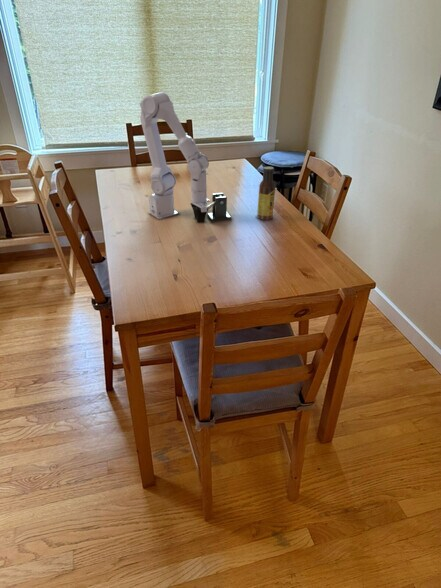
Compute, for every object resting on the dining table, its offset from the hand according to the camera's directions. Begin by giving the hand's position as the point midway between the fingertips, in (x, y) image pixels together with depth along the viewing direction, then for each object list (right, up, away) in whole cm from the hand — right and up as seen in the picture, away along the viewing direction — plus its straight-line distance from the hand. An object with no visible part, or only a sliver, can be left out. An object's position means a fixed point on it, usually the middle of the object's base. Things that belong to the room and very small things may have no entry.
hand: (199, 222), depth 161 cm
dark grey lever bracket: (+8, +2, +2) cm, 8 cm away
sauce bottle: (+26, +2, +2) cm, 26 cm away
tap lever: (+5, +5, -2) cm, 7 cm away
